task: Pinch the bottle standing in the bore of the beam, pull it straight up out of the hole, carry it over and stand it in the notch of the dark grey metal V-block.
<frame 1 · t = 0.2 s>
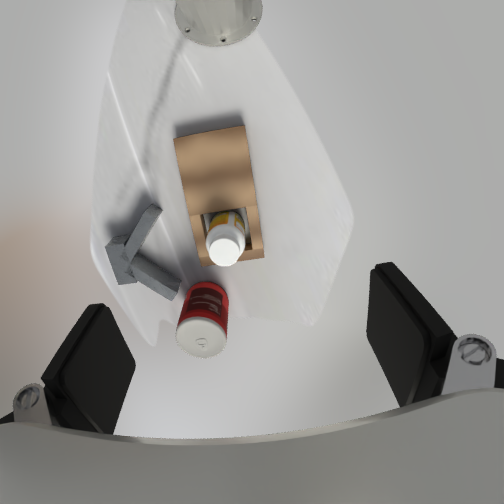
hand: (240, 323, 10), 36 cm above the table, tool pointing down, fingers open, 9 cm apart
canned food: (207, 298, 52), on the table
beam: (221, 195, 44), on the table
supplement bottle: (227, 226, 47), on the table
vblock: (137, 252, 48), on the table
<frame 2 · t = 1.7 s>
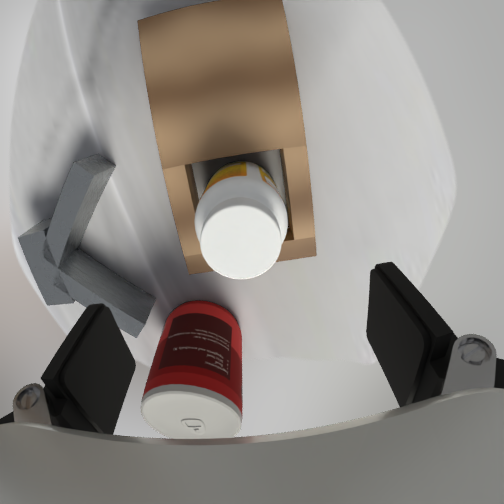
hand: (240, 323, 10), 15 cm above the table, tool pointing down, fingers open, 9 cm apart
canned food: (203, 329, 29), on the table
beam: (230, 131, 21), on the table
supplement bottle: (241, 193, 23), on the table
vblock: (78, 248, 25), on the table
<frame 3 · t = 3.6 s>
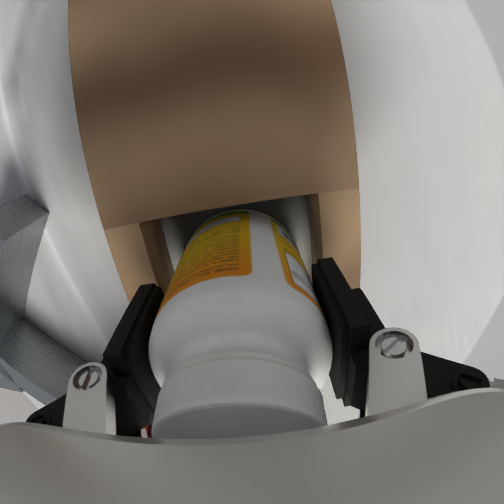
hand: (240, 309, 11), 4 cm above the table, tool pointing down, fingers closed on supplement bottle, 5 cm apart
beam: (222, 156, 12), on the table
supplement bottle: (241, 259, 14), on the table, touching gripper
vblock: (23, 317, 16), on the table
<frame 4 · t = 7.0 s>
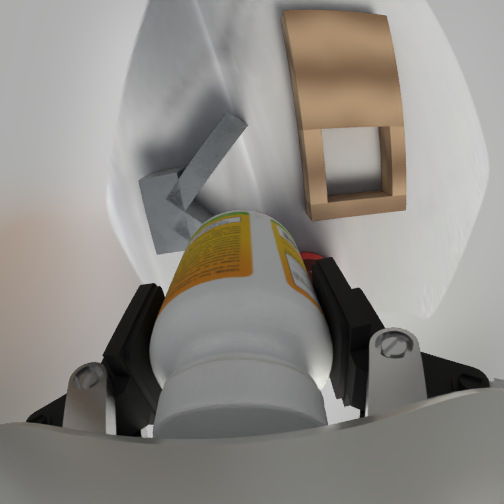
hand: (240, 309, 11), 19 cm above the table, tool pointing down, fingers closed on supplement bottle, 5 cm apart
beam: (346, 110, 25), on the table
supplement bottle: (241, 259, 15), point 15 cm above the table, touching gripper
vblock: (192, 200, 29), on the table
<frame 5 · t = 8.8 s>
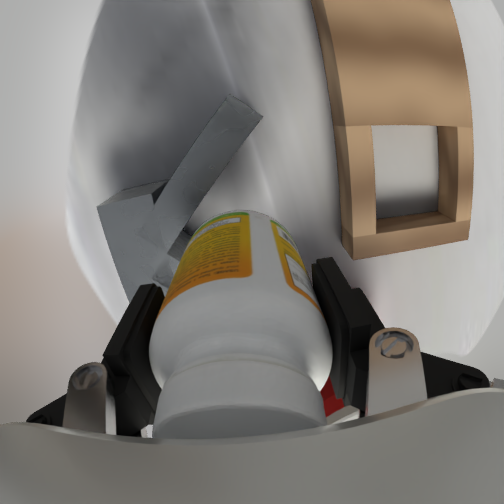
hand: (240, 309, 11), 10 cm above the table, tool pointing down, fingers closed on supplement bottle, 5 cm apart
canned food: (329, 329, 24), on the table
beam: (397, 101, 16), on the table
supplement bottle: (241, 260, 15), point 6 cm above the table, touching gripper
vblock: (180, 228, 20), on the table
when the fingers open (5 cm above the table, at t = 10.6 s): supplement bottle drops 1 cm, on the table.
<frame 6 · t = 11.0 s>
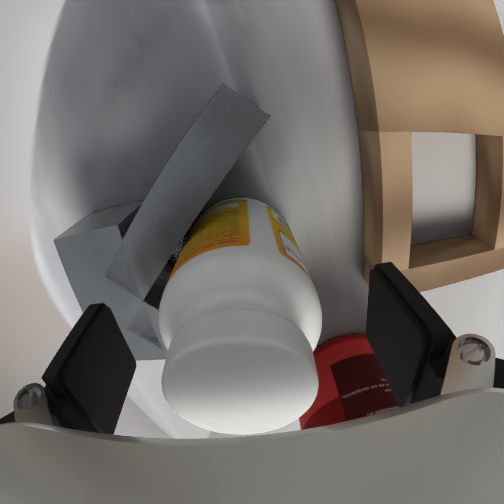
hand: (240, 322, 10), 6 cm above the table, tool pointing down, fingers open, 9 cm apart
canned food: (343, 369, 20), on the table
beam: (433, 101, 12), on the table
supplement bottle: (240, 244, 16), on the table
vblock: (163, 260, 16), on the table
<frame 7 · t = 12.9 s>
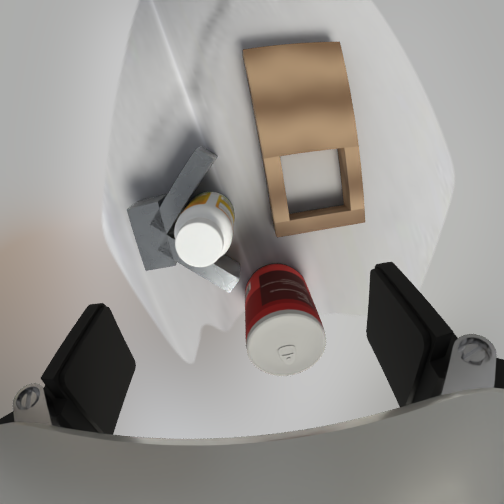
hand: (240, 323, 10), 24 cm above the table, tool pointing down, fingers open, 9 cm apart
canned food: (275, 289, 37), on the table
beam: (305, 135, 30), on the table
supplement bottle: (210, 214, 33), on the table
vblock: (174, 223, 33), on the table
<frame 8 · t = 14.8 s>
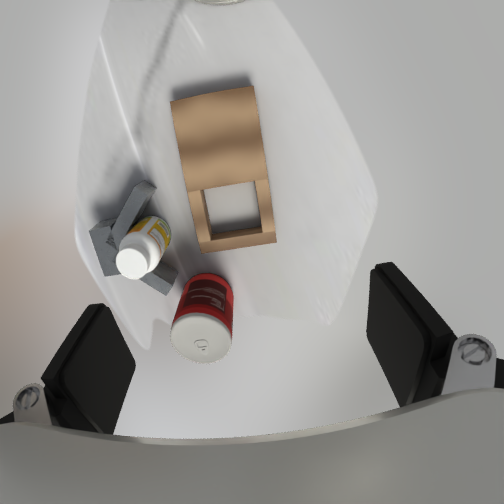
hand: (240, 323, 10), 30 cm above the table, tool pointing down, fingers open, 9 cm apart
canned food: (208, 293, 45), on the table
beam: (226, 169, 37), on the table
supplement bottle: (153, 232, 41), on the table
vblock: (127, 239, 41), on the table
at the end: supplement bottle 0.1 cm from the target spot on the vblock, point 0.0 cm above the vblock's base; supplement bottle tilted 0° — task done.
